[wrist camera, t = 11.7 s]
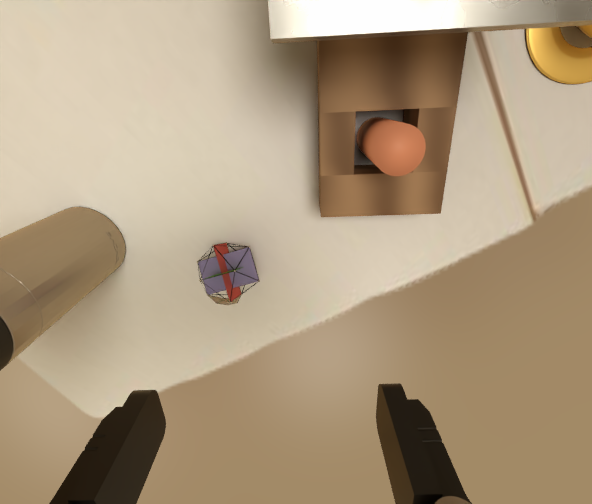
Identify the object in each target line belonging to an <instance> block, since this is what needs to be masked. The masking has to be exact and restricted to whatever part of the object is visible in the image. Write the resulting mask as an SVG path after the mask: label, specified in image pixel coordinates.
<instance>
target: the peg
mask: <svg viewBox="0 0 592 504" xmlns="http://www.w3.org/2000/svg"><path fill="white" fill-rule="evenodd" d="M357 144H358V147H359V149H360V150H361V151H362V153H364V154H365V155H366V156H367V157H368V158H369V159H370V160H371V161H372V162H373V163H374V164H375V165H376V166H377V167H378V168H379V169H380V170H381V171H382V172H384V173H385V174H387V175H390V176H403V175H406V174H408V173H410V172H412V171H413V170H414V169H416V168H417V167H418V165H419V164H420V163H421V161H422V159H423V157H424V154H425V150H426V143H425V139H424V136H423V134H422V133H421V131H420V130H419V129H418V128H416V127H415V126H413V125H411V124H407V123H403V122H398V121H394V120H390V119H386V118H381V117H374V118H371V119H369V120H367V121H365V122H364V123H363V124H362V125H361V127H360V129H359V131H358V134H357Z"/></svg>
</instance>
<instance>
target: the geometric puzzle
mask: <svg viewBox="0 0 592 504" xmlns="http://www.w3.org/2000/svg"><path fill="white" fill-rule="evenodd" d="M227 245H229V243H224V244H217V245H213V246H212V248H213V247H214V250H215V253H216V257H213V258H209V257H208V259H206V260H202V259H201V260H202V261H197V263H198V265H199V267H198V269H199V268H200V272H201V275H202V276H201V277H202V278H203V279H202V280H203V282H204V285H205V288H206V292H207V296H209V297H210V298H211V299H212V300H213V301H215V302H216V303H217V304H224V305H230V304H235V303H238V301H239V299H240V297H241V295H242V294H241V291H240V288H239V286H243V285H244V287H245V285H246V284H250V283H254V282H260V280H259V278H258V274H257V271H256V268H255V264H254V261H253V257H252V254H251V250H250V247H248V248H244V249H241V250H237V251H236V250H235V249H234V248H233V249H234V250H235V251H234V252H230V253H229V250H228V247H227ZM233 245H235V244H233ZM229 246H230V245H229ZM230 247H231V246H230ZM232 247H241V245H239V246H232ZM232 247H231V248H232ZM245 247H247V246H245ZM211 251H212V249H211ZM207 252H208V251H207ZM207 252H206V253H207ZM213 252H214V251H213ZM213 252H212V253H213ZM206 253H205V254H206ZM205 254H204V255H205ZM210 254H211V252H210ZM210 254H209V256H210ZM207 256H208V255H207ZM207 256H206V257H207ZM204 258H205V257H204ZM199 277H200V275H199ZM199 281H200V282H202V281H201V279H200V280H199ZM203 282H202V283H203ZM202 283H201V284H202ZM255 284H256V283H255ZM255 284H254V285H255ZM254 285H253V286H254ZM251 287H252V286H251ZM251 287H250V288H251ZM250 288H249V289H250ZM243 289H244V288H243ZM224 290H226V291H227V294H216V295H220V296H221V295H228V297H229V298H224V297H223V298H224V299H223V298H219V297H215V296H210V295H209V294H213V293H217V292H220V291H224ZM247 290H248V289H247ZM247 290H246V291H247ZM246 291H245V292H246ZM242 292H243V291H242ZM243 293H244V292H243Z"/></svg>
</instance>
